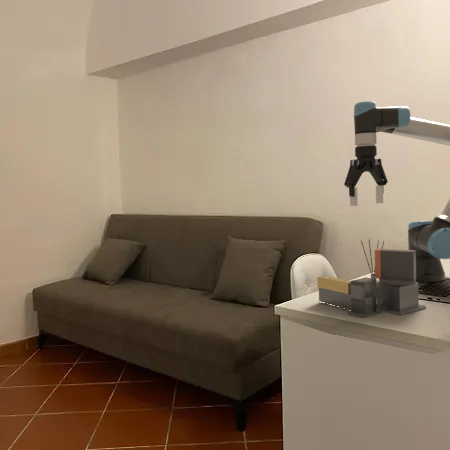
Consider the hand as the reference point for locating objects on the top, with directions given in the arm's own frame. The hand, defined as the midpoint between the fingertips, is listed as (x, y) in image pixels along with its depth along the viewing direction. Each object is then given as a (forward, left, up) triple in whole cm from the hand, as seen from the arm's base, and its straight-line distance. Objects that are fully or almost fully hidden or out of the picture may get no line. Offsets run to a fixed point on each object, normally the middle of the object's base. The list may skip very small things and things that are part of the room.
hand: (367, 204), depth 183 cm
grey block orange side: (+13, +23, -23) cm, 35 cm away
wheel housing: (+13, +23, -32) cm, 41 cm away
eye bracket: (+25, +12, -32) cm, 42 cm away
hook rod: (+25, +8, -26) cm, 37 cm away
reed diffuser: (+4, +7, -32) cm, 33 cm away
